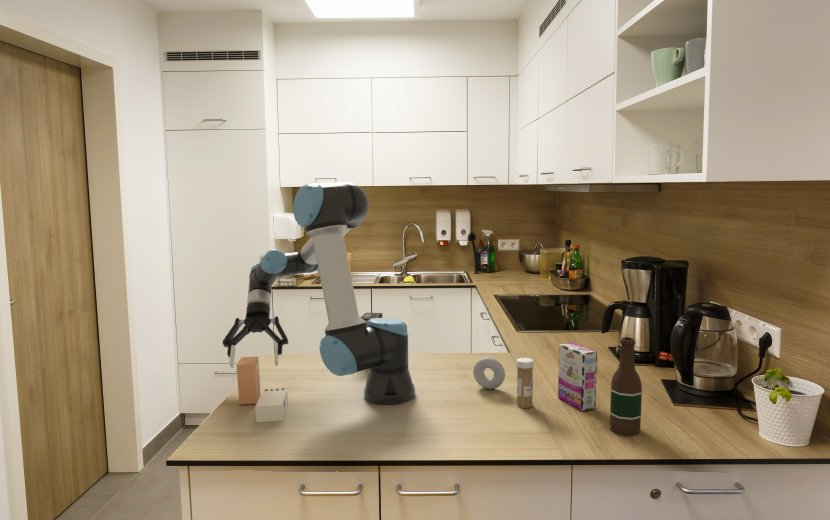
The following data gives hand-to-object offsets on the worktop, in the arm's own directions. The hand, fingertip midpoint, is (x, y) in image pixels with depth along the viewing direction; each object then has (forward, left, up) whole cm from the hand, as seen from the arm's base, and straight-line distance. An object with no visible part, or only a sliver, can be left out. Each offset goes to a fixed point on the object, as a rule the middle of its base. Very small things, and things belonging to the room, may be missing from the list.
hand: (253, 364), depth 182 cm
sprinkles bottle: (-74, -38, -8) cm, 83 cm away
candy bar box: (-85, -48, -8) cm, 98 cm away
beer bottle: (-102, -39, -8) cm, 109 cm away
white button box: (-20, +8, -8) cm, 23 cm away
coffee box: (-10, -43, -8) cm, 45 cm away
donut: (-59, -43, -8) cm, 73 cm away
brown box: (-7, +7, -8) cm, 12 cm away
